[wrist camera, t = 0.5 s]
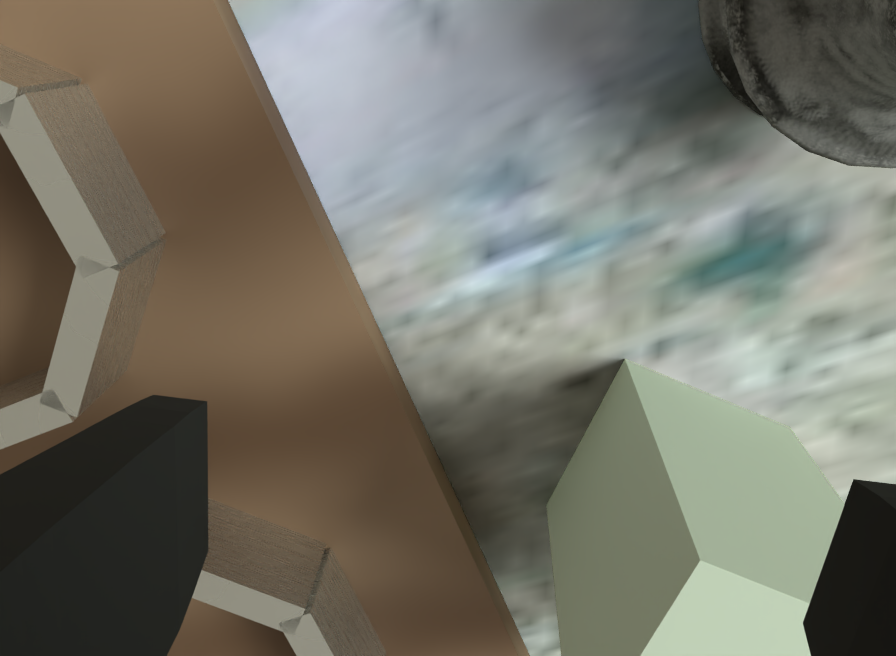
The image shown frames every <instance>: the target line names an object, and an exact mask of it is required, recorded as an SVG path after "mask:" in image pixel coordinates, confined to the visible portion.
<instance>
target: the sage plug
mask: <svg viewBox="0 0 896 656" xmlns="http://www.w3.org/2000/svg"><path fill="white" fill-rule="evenodd" d="M844 505H845V504H844V502H843V501H842V499H841V498H840V497H839V495H838V494H837V492H836V491H835V490H834V488H833V487H832V486H831V484H830V483H829V481H828V480H827V479H826V477H825V476H824V474H823V473H822V472H821V470H820V469H819V467H818V466H817V465H816V463H815V462H814V460H813V459H812V458H811V456H810V455H809V453H808V452H807V451H806V449H805V448H804V446H803V445H802V444H801V442H800V441H799V439H798V438H797V437H796V435H795V434H794V432H793V431H792V430H791V428H790V427H788V426H786V425H783V424H781V423H779V422H776V421H774V420H771V419H769V418H766V417H764V416H762V415H759V414H757V413H754V412H752V411H750V410H747V409H745V408H742V407H740V406H738V405H735V404H733V403H730V402H728V401H726V400H723V399H721V398H718V397H716V396H714V395H711V394H709V393H706V392H704V391H702V390H699V389H697V388H694V387H692V386H690V385H687V384H685V383H682V382H680V381H678V380H675V379H673V378H670V377H668V376H666V375H663V374H661V373H658V372H656V371H654V370H651V369H649V368H646V367H644V366H642V365H639V364H637V363H634V362H632V361H629V360H627V359H624V361H623V363H622V365H621V367H620V369H619V370H618V372H617V374H616V376H615V378H614V380H613V382H612V384H611V385H610V387H609V389H608V391H607V393H606V395H605V397H604V398H603V400H602V402H601V404H600V406H599V408H598V410H597V412H596V413H595V415H594V417H593V419H592V421H591V423H590V425H589V426H588V428H587V430H586V432H585V434H584V436H583V438H582V440H581V441H580V443H579V445H578V447H577V449H576V451H575V453H574V455H573V456H572V458H571V460H570V462H569V464H568V466H567V468H566V469H565V471H564V473H563V475H562V477H561V479H560V481H559V483H558V484H557V486H556V488H555V490H554V492H553V494H552V496H551V498H550V499H549V501H548V503H547V505H546V508H547V518H548V528H549V538H550V548H551V558H552V568H553V577H554V587H555V597H556V607H557V617H558V627H559V637H560V647H561V656H811V654H810V650H809V646H808V642H807V638H806V634H805V630H804V626H803V621H804V618H805V615H806V612H807V609H808V607H809V604H810V601H811V598H812V595H813V592H814V590H815V587H816V584H817V581H818V578H819V576H820V573H821V570H822V567H823V564H824V561H825V559H826V556H827V553H828V550H829V547H830V544H831V542H832V539H833V536H834V533H835V530H836V528H837V525H838V522H839V519H840V516H841V513H842V511H843V508H844Z"/></svg>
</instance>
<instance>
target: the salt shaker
mask: <svg viewBox="0 0 896 656" xmlns="http://www.w3.org/2000/svg"><path fill="white" fill-rule="evenodd" d="M698 7H699V16H700V25H701V35H702V41H703V43H704V46H705V48H706V51H707V53H708V56H709V58H710V61H711V64H712V66H713V69H714V71H715V72H716V73H717V75H718V76H719V77H720V79H721V80H722V81H723V82H724V84H725V85H726V86H727V88H728V89H729V90H730V92H731V93H732V94H733V95H734V96H735V97H736V98H738V99H739V100H740V101H742V102H743V103H745V104H746V105H747V106H749V107H750V108H751V109H753V110H754V111H756V112H757V113H758V114H760V115H763V116H765V118H766V119H767V120H768V122H769V123H770V124H771V126H773V127H774V128H775V129H777V130H778V131H779V132H781V133H782V134H784V135H785V136H786V137H788V138H789V139H791V140H792V141H793V142H795V143H796V144H798V145H799V146H800V147H802V148H803V149H805V150H806V151H808V152H811V153H814V154H817V155H820V156H823V157H826V158H828V159H831V160H834V161H837V162H840V163H843V164H846V165H849V166H865V167H881V168H896V0H699V3H698Z"/></svg>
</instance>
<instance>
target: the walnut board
mask: <svg viewBox="0 0 896 656" xmlns="http://www.w3.org/2000/svg"><path fill="white" fill-rule="evenodd" d="M0 44H2V45H4V46H6V47H9V48H11V49H14V50H16V51H18V52H21V53H23V54H25V55H28V56H30V57H32V58H35V59H37V60H40V61H42V62H44V63H47V64H49V65H51V66H54V67H56V68H59V69H61V70H63V71H66V72H68V73H70V74H73V75H75V76H78V77H80V78H82V79H81V83H80V85H82V84H88V86H89V88H90V89H91V91H92V93H93V95H94V97H95V99H96V101H97V103H98V105H99V107H100V108H101V110H102V112H103V114H104V116H105V118H106V120H107V122H108V124H109V126H110V128H111V129H112V131H113V133H114V135H115V137H116V139H117V141H118V143H119V145H120V147H121V148H122V150H123V152H124V154H125V156H126V158H127V160H128V162H129V164H130V166H131V167H132V169H133V171H134V173H135V175H136V177H137V179H138V181H139V183H140V185H141V187H142V188H143V190H144V192H145V194H146V196H147V198H148V200H149V202H150V204H151V206H152V207H153V209H154V211H155V213H156V215H157V217H158V219H159V221H160V223H161V225H162V226H163V228H164V230H165V232H166V233H165V234H164V235H162V236H160V237H161V238H164V239H166V243H165V247H164V250H163V253H162V257H161V260H160V263H159V266H158V270H157V273H156V276H155V279H154V283H153V286H152V289H151V292H150V296H149V299H148V302H147V306H146V309H145V312H144V315H143V319H142V322H141V325H140V328H139V332H138V335H137V338H136V342H135V345H134V348H133V351H132V355H131V358H130V361H129V364H128V368H127V370H126V371H125V372H124V373H123V375H122V376H121V377H120V378H118V379H117V380H116V381H115V382H114V383H113V384H112V385H111V386H110V387H109V388H108V389H107V390H106V391H105V392H104V393H103V394H102V395H101V396H100V397H98V398H97V399H96V400H95V401H94V402H93V403H92V404H91V405H90V406H89V407H88V408H87V409H86V410H85V411H84V412H83V413H82V414H81V415H80V416H78V417H77V418H76V419H75V420H74V421H73V422H71V423H69V424H66V425H63V426H61V427H58V428H56V429H53V430H50V431H48V432H45V433H42V434H40V435H37V436H34V437H32V438H29V439H27V440H24V441H21V442H19V443H16V444H13V445H11V446H8V447H5V448H3V449H0V474H2V473H4V472H6V471H8V470H10V469H12V468H13V467H15V466H17V465H19V464H21V463H23V462H25V461H27V460H28V459H30V458H32V457H34V456H36V455H38V454H40V453H42V452H43V451H45V450H47V449H49V448H51V447H53V446H55V445H57V444H59V443H60V442H62V441H64V440H66V439H68V438H70V437H72V436H73V435H75V434H77V433H79V432H81V431H83V430H85V429H86V428H88V427H90V426H92V425H94V424H96V423H97V422H99V421H101V420H103V419H105V418H107V417H109V416H111V415H112V414H114V413H116V412H118V411H120V410H122V409H124V408H126V407H128V406H130V405H132V404H134V403H136V402H138V401H140V400H142V399H145V398H147V397H149V396H152V395H160V396H168V397H176V398H185V399H193V400H201V401H207V420H208V498H209V499H212V500H214V501H217V502H220V503H222V504H225V505H227V506H230V507H233V508H235V509H238V510H240V511H243V512H246V513H248V514H251V515H254V516H256V517H259V518H261V519H264V520H267V521H269V522H272V523H274V524H277V525H280V526H282V527H285V528H287V529H290V530H293V531H295V532H298V533H300V534H303V535H306V536H308V537H311V538H313V539H316V540H319V541H321V542H324V543H326V547H325V549H328V548H332V550H333V552H334V554H335V556H336V558H337V560H338V561H339V563H340V565H341V567H342V569H343V571H344V573H345V575H346V577H347V579H348V580H349V582H350V584H351V586H352V588H353V590H354V592H355V594H356V596H357V598H358V600H359V601H360V603H361V605H362V607H363V609H364V611H365V613H366V615H367V617H368V619H369V620H370V622H371V624H372V626H373V628H374V630H375V632H376V634H377V636H378V638H379V639H380V641H381V643H382V645H383V647H384V649H385V651H386V654H385V656H530V655H529V653H528V651H527V649H526V647H525V644H524V642H523V640H522V638H521V636H520V633H519V631H518V629H517V627H516V625H515V623H514V620H513V618H512V616H511V614H510V612H509V610H508V607H507V605H506V603H505V601H504V599H503V597H502V594H501V592H500V590H499V588H498V586H497V584H496V581H495V579H494V577H493V575H492V573H491V571H490V568H489V566H488V564H487V562H486V560H485V558H484V555H483V553H482V551H481V549H480V547H479V545H478V542H477V540H476V538H475V536H474V534H473V532H472V529H471V527H470V525H469V523H468V521H467V518H466V516H465V514H464V512H463V510H462V508H461V505H460V503H459V501H458V499H457V497H456V495H455V492H454V490H453V488H452V486H451V484H450V482H449V479H448V477H447V475H446V473H445V471H444V469H443V466H442V464H441V462H440V460H439V458H438V456H437V453H436V451H435V449H434V447H433V445H432V443H431V440H430V438H429V436H428V434H427V432H426V430H425V427H424V425H423V423H422V421H421V419H420V417H419V414H418V412H417V410H416V408H415V406H414V403H413V401H412V399H411V397H410V395H409V393H408V390H407V388H406V386H405V384H404V382H403V380H402V377H401V375H400V373H399V371H398V369H397V367H396V364H395V362H394V360H393V358H392V356H391V354H390V351H389V349H388V347H387V345H386V343H385V341H384V338H383V336H382V334H381V332H380V330H379V328H378V325H377V323H376V321H375V319H374V317H373V315H372V312H371V310H370V308H369V306H368V304H367V302H366V299H365V297H364V295H363V293H362V291H361V288H360V286H359V284H358V282H357V280H356V278H355V275H354V273H353V271H352V269H351V267H350V265H349V262H348V260H347V258H346V256H345V254H344V252H343V249H342V247H341V245H340V243H339V241H338V239H337V236H336V234H335V232H334V230H333V228H332V226H331V223H330V221H329V219H328V217H327V215H326V213H325V210H324V208H323V206H322V204H321V202H320V200H319V197H318V195H317V193H316V191H315V189H314V187H313V184H312V182H311V180H310V178H309V176H308V173H307V171H306V169H305V167H304V165H303V163H302V160H301V158H300V156H299V154H298V152H297V150H296V147H295V145H294V143H293V141H292V139H291V137H290V134H289V132H288V130H287V128H286V126H285V124H284V121H283V119H282V117H281V115H280V113H279V111H278V108H277V106H276V104H275V102H274V100H273V98H272V95H271V93H270V91H269V89H268V87H267V85H266V82H265V80H264V78H263V76H262V74H261V72H260V69H259V67H258V65H257V63H256V61H255V58H254V56H253V54H252V52H251V50H250V48H249V45H248V43H247V41H246V39H245V37H244V35H243V32H242V30H241V28H240V26H239V24H238V22H237V19H236V17H235V15H234V13H233V11H232V9H231V6H230V4H229V2H228V0H0ZM75 269H76V266H75V264H74V262H73V260H72V259H71V257H70V255H69V253H68V252H67V250H66V248H65V246H64V245H63V243H62V241H61V239H60V238H59V236H58V234H57V232H56V230H55V229H54V227H53V225H52V223H51V222H50V220H49V218H48V216H47V215H46V213H45V211H44V209H43V208H42V206H41V204H40V202H39V200H38V199H37V197H36V195H35V193H34V192H33V190H32V188H31V186H30V185H29V183H28V181H27V179H26V178H25V176H24V174H23V172H22V170H21V169H20V167H19V165H18V163H17V162H16V160H15V158H14V156H13V155H12V153H11V151H10V149H9V148H8V146H7V144H6V142H5V141H4V139H3V137H2V135H1V133H0V386H2V385H5V384H7V383H10V382H12V381H15V380H17V379H20V378H22V377H25V376H27V375H30V374H32V373H35V372H37V371H40V370H42V369H45V368H48V367H49V366H50V362H51V358H52V355H53V351H54V347H55V344H56V340H57V336H58V332H59V329H60V325H61V321H62V318H63V314H64V310H65V307H66V303H67V299H68V295H69V292H70V288H71V284H72V281H73V277H74V273H75ZM167 656H297V655H296V654H295V652H294V650H293V648H292V647H291V645H290V643H289V641H288V640H287V638H286V636H285V634H284V633H283V632H282V631H279V630H277V629H274V628H271V627H269V626H266V625H263V624H261V623H258V622H255V621H253V620H250V619H247V618H245V617H242V616H239V615H236V614H234V613H231V612H228V611H226V610H223V609H220V608H218V607H215V606H212V605H210V604H207V603H204V602H202V601H199V600H196V599H194V598H192V599H191V601H190V604H189V607H188V609H187V612H186V615H185V617H184V620H183V623H182V625H181V628H180V630H179V632H178V634H177V636H176V638H175V640H174V642H173V644H172V646H171V648H170V650H169V652H168V654H167Z"/></svg>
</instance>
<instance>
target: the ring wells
mask: <svg viewBox="0 0 896 656" xmlns="http://www.w3.org/2000/svg"><path fill="white" fill-rule="evenodd" d="M81 79H82V78H80V77H78V76H75V75H73V74H70V73H68V72H66V71H63V70H61V69H59V68H56V67H54V66H51V65H49V64H47V63H44V62H42V61H40V60H37V59H35V58H32V57H30V56H28V55H25V54H23V53H21V52H18V51H16V50H14V49H11V48H9V47H6V46H4V45H2V44H0V133H1V135H2V137H3V139H4V141H5V142H6V144H7V146H8V148H9V149H10V151H11V153H12V155H13V156H14V158H15V160H16V162H17V163H18V165H19V167H20V169H21V170H22V172H23V174H24V176H25V178H26V179H27V181H28V183H29V185H30V186H31V188H32V190H33V192H34V193H35V195H36V197H37V199H38V200H39V202H40V204H41V206H42V208H43V209H44V211H45V213H46V215H47V216H48V218H49V220H50V222H51V223H52V225H53V227H54V229H55V230H56V232H57V234H58V236H59V238H60V239H61V241H62V243H63V245H64V246H65V248H66V250H67V252H68V253H69V255H70V257H71V259H72V260H73V262H74V264H75V266H76V269H75V273H74V277H73V281H72V284H71V288H70V292H69V295H68V299H67V303H66V307H65V310H64V314H63V318H62V321H61V325H60V329H59V332H58V336H57V340H56V344H55V347H54V351H53V355H52V358H51V362H50V366H49V367H48V368H45V369H42V370H40V371H37V372H35V373H32V374H30V375H27V376H25V377H22V378H20V379H17V380H15V381H12V382H10V383H7V384H5V385H2V386H0V449H3V448H5V447H8V446H11V445H13V444H16V443H19V442H21V441H24V440H27V439H29V438H32V437H34V436H37V435H40V434H42V433H45V432H48V431H50V430H53V429H56V428H58V427H61V426H63V425H66V424H69V423H71V422H73V421H74V420H75V419H76V418H77V417H78V416H80V415H81V414H82V413H83V412H84V411H85V410H86V409H87V408H88V407H89V406H90V405H91V404H92V403H93V402H94V401H95V400H96V399H97V398H98V397H100V396H101V395H102V394H103V393H104V392H105V391H106V390H107V389H108V388H109V387H110V386H111V385H112V384H113V383H114V382H115V381H116V380H117V379H118V378H120V377H121V376H122V375H123V373H124V372H125V371H126V370H127V368H128V364H129V361H130V358H131V355H132V351H133V348H134V345H135V342H136V338H137V335H138V332H139V328H140V325H141V322H142V319H143V315H144V312H145V309H146V306H147V302H148V299H149V296H150V292H151V289H152V286H153V283H154V279H155V276H156V273H157V270H158V266H159V263H160V260H161V257H162V253H163V250H164V247H165V243H166V239H164V238H161V237H160V236H162V235H164V234H165V233H166V232H165V230H164V228H163V226H162V225H161V223H160V221H159V219H158V217H157V215H156V213H155V211H154V209H153V207H152V206H151V204H150V202H149V200H148V198H147V196H146V194H145V192H144V190H143V188H142V187H141V185H140V183H139V181H138V179H137V177H136V175H135V173H134V171H133V169H132V167H131V166H130V164H129V162H128V160H127V158H126V156H125V154H124V152H123V150H122V148H121V147H120V145H119V143H118V141H117V139H116V137H115V135H114V133H113V131H112V129H111V128H110V126H109V124H108V122H107V120H106V118H105V116H104V114H103V112H102V110H101V108H100V107H99V105H98V103H97V101H96V99H95V97H94V95H93V93H92V91H91V89H90V88H89V86H88V84H82V85H80V83H81ZM325 547H326V543H324V542H321V541H319V540H316V539H313V538H311V537H308V536H306V535H303V534H300V533H298V532H295V531H293V530H290V529H287V528H285V527H282V526H280V525H277V524H274V523H272V522H269V521H267V520H264V519H261V518H259V517H256V516H254V515H251V514H248V513H246V512H243V511H240V510H238V509H235V508H233V507H230V506H227V505H225V504H222V503H220V502H217V501H214V500H212V499H209V498H208V550H209V551H208V553H207V556H206V559H205V562H204V565H203V568H202V571H201V573H200V576H199V579H198V582H197V585H196V588H195V590H194V593H193V596H192V598H194V599H196V600H199V601H202V602H204V603H207V604H210V605H212V606H215V607H218V608H220V609H223V610H226V611H228V612H231V613H234V614H236V615H239V616H242V617H245V618H247V619H250V620H253V621H255V622H258V623H261V624H263V625H266V626H269V627H271V628H274V629H277V630H279V631H282V632H283V633H284V634H285V636H286V638H287V640H288V641H289V643H290V645H291V647H292V648H293V650H294V652H295V654H296V655H297V656H385V654H386V651H385V649H384V647H383V645H382V643H381V641H380V639H379V638H378V636H377V634H376V632H375V630H374V628H373V626H372V624H371V622H370V620H369V619H368V617H367V615H366V613H365V611H364V609H363V607H362V605H361V603H360V601H359V600H358V598H357V596H356V594H355V592H354V590H353V588H352V586H351V584H350V582H349V580H348V579H347V577H346V575H345V573H344V571H343V569H342V567H341V565H340V563H339V561H338V560H337V558H336V556H335V554H334V552H333V550H332V548H328V549H325Z"/></svg>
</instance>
